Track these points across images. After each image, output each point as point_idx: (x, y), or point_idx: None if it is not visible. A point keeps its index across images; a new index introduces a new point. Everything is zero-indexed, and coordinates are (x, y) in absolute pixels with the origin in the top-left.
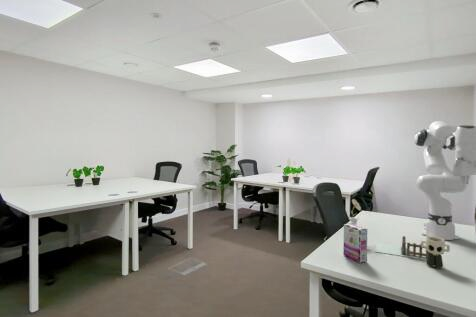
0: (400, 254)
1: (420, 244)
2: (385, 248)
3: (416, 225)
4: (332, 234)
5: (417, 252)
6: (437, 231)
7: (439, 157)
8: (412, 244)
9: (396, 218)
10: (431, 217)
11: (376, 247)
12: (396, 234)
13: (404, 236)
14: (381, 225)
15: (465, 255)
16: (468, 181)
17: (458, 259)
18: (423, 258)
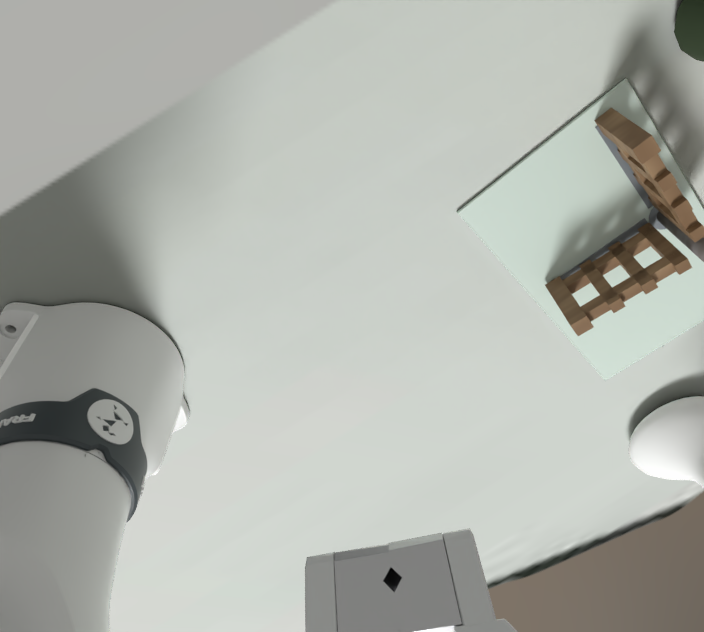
0: None
1: (670, 183)
2: (654, 307)
3: None
4: (661, 512)
5: (639, 174)
6: (152, 376)
7: None
8: (690, 211)
9: None
10: (144, 480)
11: (681, 331)
12: (341, 449)
13: (574, 328)
14: (275, 560)
15: (297, 70)
16: (318, 621)
17: (430, 35)
18: (639, 124)
